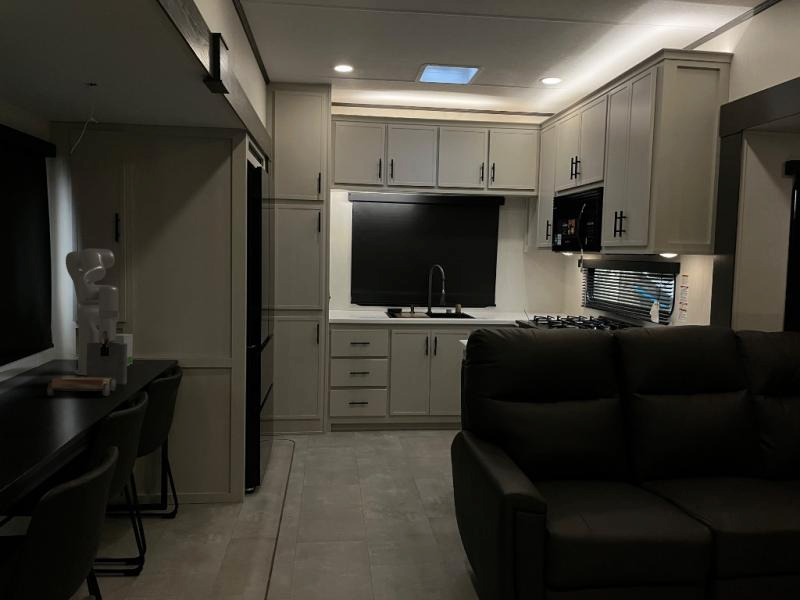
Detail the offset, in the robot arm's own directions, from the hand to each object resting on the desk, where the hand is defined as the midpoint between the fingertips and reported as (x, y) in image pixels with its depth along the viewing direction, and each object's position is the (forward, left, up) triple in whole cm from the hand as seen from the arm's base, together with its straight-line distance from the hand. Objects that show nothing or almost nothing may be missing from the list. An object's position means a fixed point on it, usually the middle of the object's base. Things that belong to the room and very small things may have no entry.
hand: (107, 354), depth 256 cm
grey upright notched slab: (-1, 0, -13) cm, 13 cm away
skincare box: (-44, -4, -13) cm, 46 cm away
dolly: (+18, -4, -13) cm, 23 cm away
